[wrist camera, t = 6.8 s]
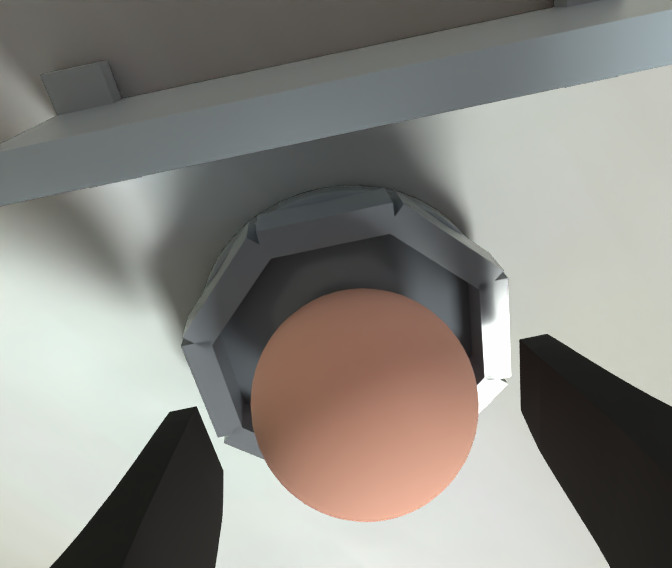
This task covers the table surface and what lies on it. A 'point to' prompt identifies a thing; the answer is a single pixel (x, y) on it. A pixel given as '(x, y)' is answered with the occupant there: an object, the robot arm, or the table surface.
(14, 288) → the table surface
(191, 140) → the divider wall
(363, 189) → the slate dish
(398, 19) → the table surface
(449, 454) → the ball
